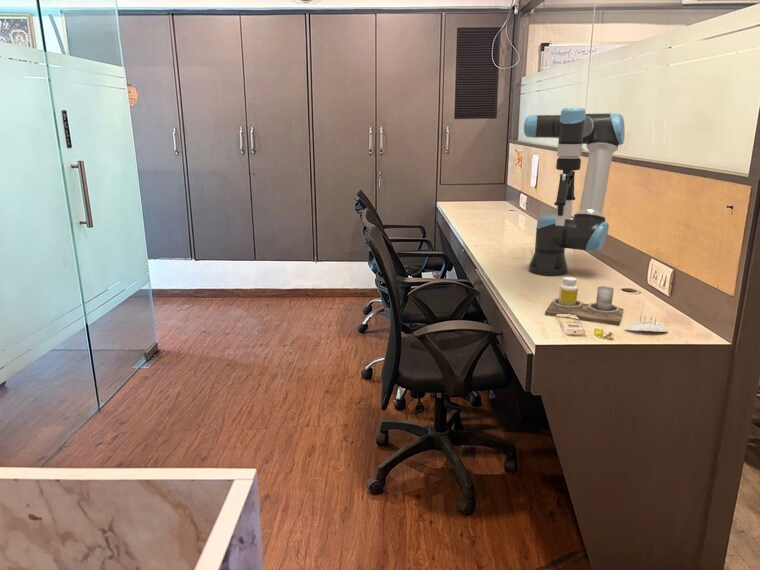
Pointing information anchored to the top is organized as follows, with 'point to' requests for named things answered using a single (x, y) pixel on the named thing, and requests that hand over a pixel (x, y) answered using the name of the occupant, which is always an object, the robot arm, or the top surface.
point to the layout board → (587, 316)
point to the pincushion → (646, 326)
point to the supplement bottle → (568, 292)
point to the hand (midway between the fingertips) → (563, 222)
